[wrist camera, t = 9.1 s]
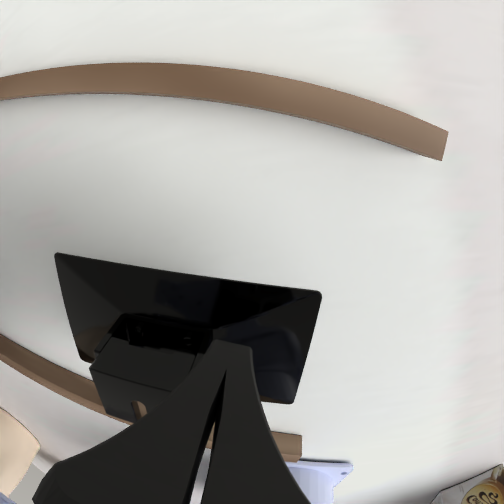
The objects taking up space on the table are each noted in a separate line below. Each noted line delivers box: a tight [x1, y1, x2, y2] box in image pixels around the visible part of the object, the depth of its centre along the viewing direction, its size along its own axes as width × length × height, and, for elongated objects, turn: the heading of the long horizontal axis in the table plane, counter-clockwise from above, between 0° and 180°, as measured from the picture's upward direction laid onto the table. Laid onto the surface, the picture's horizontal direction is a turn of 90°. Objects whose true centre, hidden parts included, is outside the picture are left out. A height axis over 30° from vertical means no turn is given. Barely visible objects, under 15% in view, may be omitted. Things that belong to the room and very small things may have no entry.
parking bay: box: [0, 63, 448, 463], centre depth 11 cm, size 18×24×4 cm
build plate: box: [54, 253, 322, 423], centre depth 12 cm, size 12×7×5 cm, turn 85°
